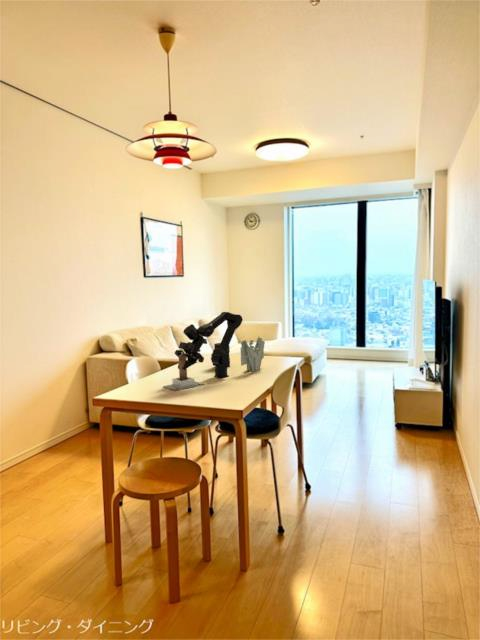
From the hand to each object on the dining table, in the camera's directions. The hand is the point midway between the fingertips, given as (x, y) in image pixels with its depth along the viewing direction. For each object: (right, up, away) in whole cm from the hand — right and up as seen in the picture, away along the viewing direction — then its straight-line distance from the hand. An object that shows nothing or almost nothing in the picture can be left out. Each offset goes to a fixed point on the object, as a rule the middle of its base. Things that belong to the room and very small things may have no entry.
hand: (180, 368), depth 234 cm
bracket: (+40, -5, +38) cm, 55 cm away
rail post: (+1, -7, +2) cm, 7 cm away
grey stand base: (+1, -9, +2) cm, 10 cm away
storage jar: (+20, -5, +52) cm, 56 cm away
